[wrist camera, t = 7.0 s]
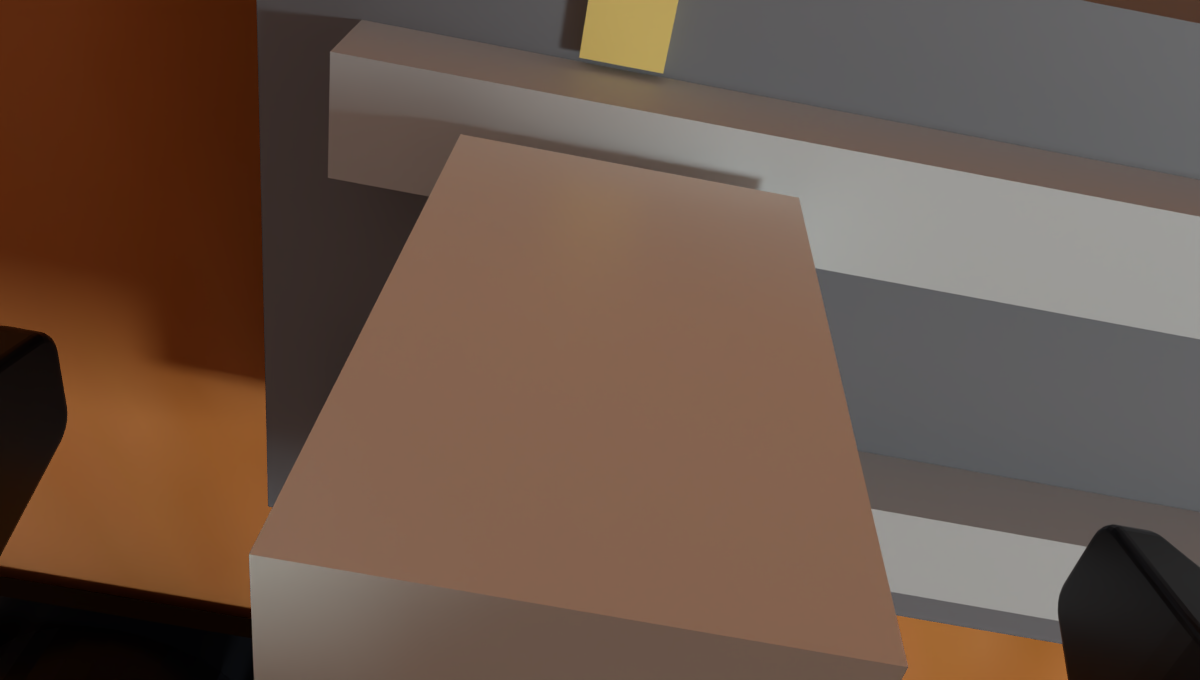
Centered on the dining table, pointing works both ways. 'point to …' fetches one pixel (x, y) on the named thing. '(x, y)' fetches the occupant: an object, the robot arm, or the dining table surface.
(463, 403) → the fader tab
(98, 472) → the dining table surface
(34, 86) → the dining table surface
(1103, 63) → the fader console
